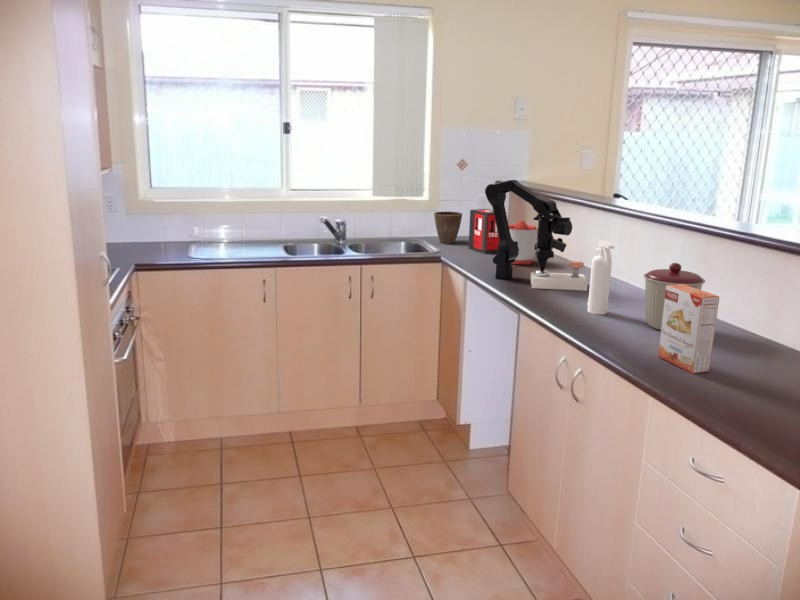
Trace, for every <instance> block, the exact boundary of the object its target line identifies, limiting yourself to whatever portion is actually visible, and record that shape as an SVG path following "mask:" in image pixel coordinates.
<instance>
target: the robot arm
mask: <svg viewBox="0 0 800 600" xmlns="http://www.w3.org/2000/svg"><path fill="white" fill-rule="evenodd" d="M510 192H512V193H513V194H515V196H518V198H521V199H522V200H524V201H525V202H527V203H528V204H529V205H531V206H532V209H533V210H534V211H535V212H536V213H537V215H536V216H535V217H533V221H537V224H538V225H537V228H538V234H537V243H536V244H535V245H534V250H536V252H535V256H536V259H537V260H536V261H537V263H538V266H539V270H541V271H544V270H546V265H547V262H548V260H549V259H551V258H552V259H553V258H554V255H555V252H554V251H553V249H554V250H558V251H559V252H560V253H564V251H565V249H566V248H567V243H565V242H563V238H561V237H558V238H557V239H556V238H554V235H553V234H555V235H560V236H561V235H562V236H563V235H564V236H570V235H571V233H572V231H573V224H572V221H571V217H565V216H564V217H563V216H562V214H561V213H560V211H559V209H558V206H557V202H556V201H555V200H552V199H551V198H547V197H545V196H541V195H539V194H538V193H536V192H534V191H533V190H531V189H530V188H528V187H526V186H525V185H523V184H521V183H520V182H519V181H518V180H517V179H508V180H506V181H503V182H500V183H490V184H488V185H486V188H484V193H485V196H486V199H487V201H488V202H489V204H490V205H491V207H492V211H494V216H495V221H496V226H497V230H498V235H499V245H498V253H496V254H495V256H493V257H492V263H493V264H494V265H495V276H494V278H495V279H497V280H499V279H500V280H512V278H513V271H514V270H513V269H514V266H513V264H511V263H514V261H515V259H516V258H517V256H518V254H519V248H518V242H517V241H513V240H512V238H511V234H510V230H509V225H510V224H509V220H508V216H507V211H506V207H505V206H506V205H505V203H506V202H505V201H506V198H507V193H510Z"/></svg>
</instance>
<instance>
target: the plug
mask: <svg viewBox="0 0 800 600" xmlns="http://www.w3.org/2000/svg"><path fill="white" fill-rule="evenodd" d="M534 272H535V275H536V276H540V277H547V276H549V273H550V270H547V269H544V271H541V270H540V269H536V270H535V271H534Z"/></svg>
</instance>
